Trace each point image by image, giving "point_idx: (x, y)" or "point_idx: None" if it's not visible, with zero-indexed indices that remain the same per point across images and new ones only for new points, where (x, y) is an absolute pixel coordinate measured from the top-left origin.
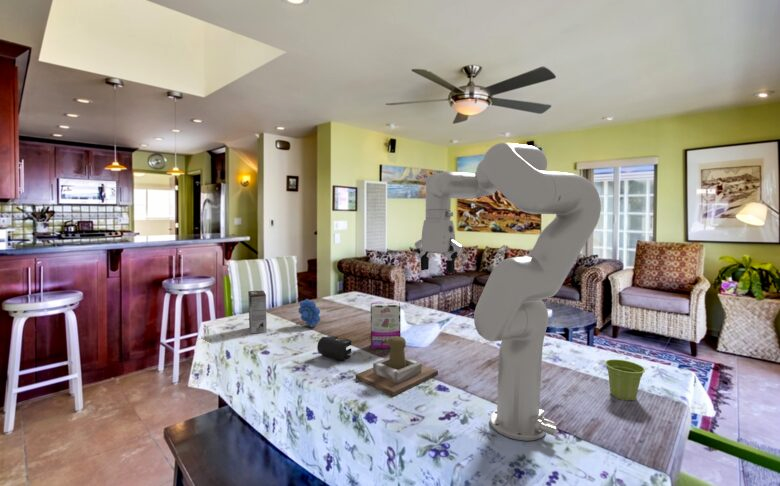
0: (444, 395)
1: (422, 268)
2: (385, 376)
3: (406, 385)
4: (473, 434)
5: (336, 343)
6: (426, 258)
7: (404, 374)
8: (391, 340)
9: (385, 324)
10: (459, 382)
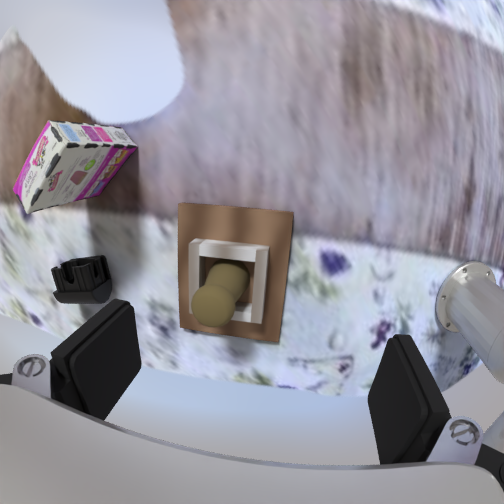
0: (350, 285)
1: (135, 374)
2: None
3: (281, 312)
4: (422, 348)
5: (86, 300)
6: (87, 388)
7: (263, 303)
8: (206, 325)
9: (80, 177)
10: (350, 218)
